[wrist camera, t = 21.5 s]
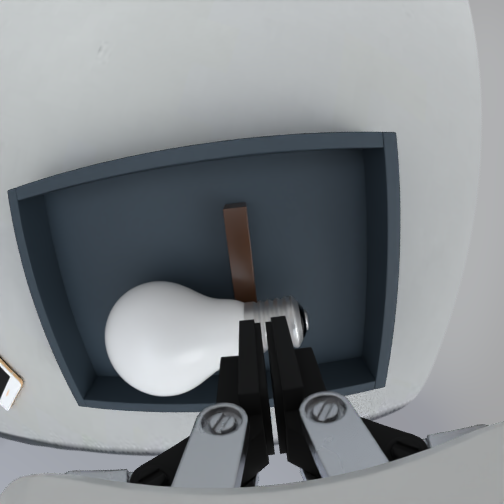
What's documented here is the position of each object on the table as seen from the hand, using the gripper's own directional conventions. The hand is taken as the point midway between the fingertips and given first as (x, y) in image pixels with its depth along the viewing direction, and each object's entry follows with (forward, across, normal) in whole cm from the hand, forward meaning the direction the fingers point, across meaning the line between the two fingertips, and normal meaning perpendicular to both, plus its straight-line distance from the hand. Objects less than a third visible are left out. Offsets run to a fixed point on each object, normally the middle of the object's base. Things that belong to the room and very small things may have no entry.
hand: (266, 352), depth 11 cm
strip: (+8, +1, 0) cm, 8 cm away
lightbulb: (+4, -2, +1) cm, 5 cm away
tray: (+8, +3, 0) cm, 9 cm away
